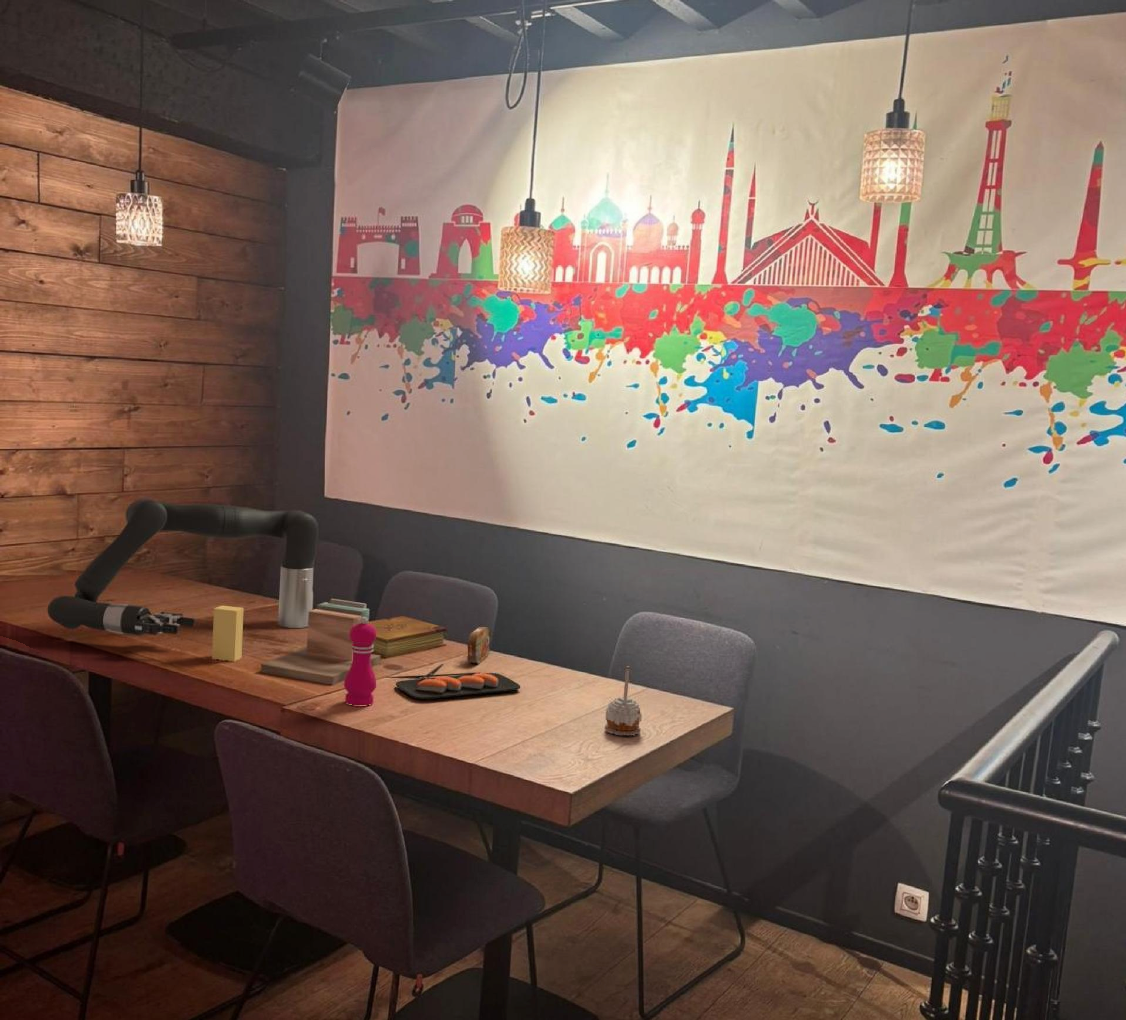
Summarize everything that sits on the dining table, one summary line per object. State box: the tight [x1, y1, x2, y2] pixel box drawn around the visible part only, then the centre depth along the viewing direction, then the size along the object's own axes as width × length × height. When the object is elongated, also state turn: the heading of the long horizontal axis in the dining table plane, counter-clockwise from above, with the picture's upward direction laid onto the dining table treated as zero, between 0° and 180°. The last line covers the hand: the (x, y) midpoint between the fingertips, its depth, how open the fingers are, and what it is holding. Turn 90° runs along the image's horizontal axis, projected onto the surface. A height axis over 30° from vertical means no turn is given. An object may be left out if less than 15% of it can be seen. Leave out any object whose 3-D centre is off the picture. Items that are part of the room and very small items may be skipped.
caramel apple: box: [604, 665, 642, 736], centre depth 240 cm, size 8×8×15 cm
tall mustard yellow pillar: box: [211, 605, 245, 662], centre depth 274 cm, size 4×6×13 cm, turn 82°
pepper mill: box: [343, 617, 377, 706], centre depth 246 cm, size 7×7×20 cm
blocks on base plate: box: [260, 598, 382, 686], centre depth 273 cm, size 24×20×15 cm
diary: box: [369, 615, 448, 659], centre depth 301 cm, size 23×19×6 cm
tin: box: [467, 626, 492, 665], centre depth 292 cm, size 15×3×8 cm, turn 168°
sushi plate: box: [385, 663, 521, 700], centre depth 270 cm, size 29×30×4 cm
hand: (186, 626), depth 276 cm, fingers open, 8 cm apart
